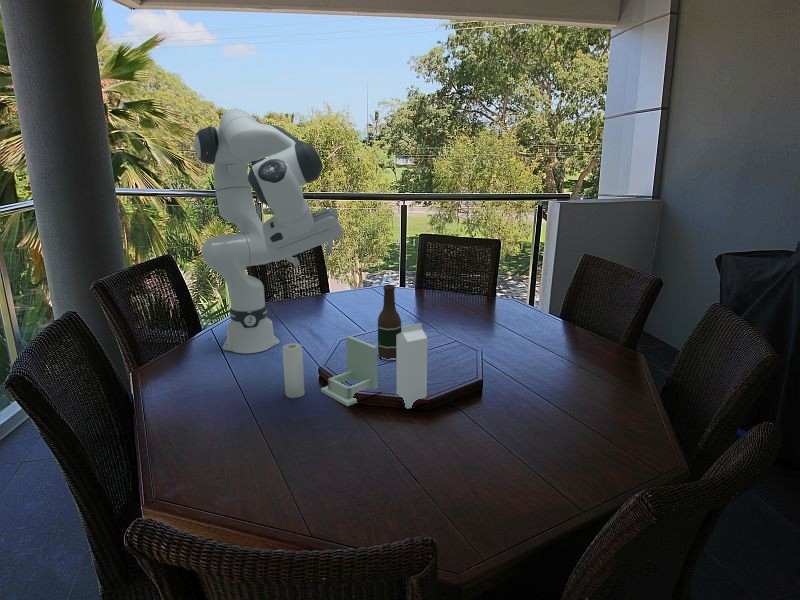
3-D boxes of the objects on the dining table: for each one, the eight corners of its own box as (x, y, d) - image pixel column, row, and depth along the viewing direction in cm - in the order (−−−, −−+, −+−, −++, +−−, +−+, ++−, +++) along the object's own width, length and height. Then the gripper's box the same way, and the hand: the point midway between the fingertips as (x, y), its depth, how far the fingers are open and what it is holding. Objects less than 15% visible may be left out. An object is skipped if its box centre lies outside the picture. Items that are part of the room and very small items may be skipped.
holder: (320, 391, 151) (318, 345, 147) (354, 379, 159) (353, 334, 155) (347, 406, 142) (345, 357, 138) (381, 392, 150) (380, 345, 146)
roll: (284, 391, 151) (281, 343, 147) (303, 388, 153) (300, 341, 149) (286, 399, 146) (283, 350, 142) (305, 396, 148) (303, 348, 144)
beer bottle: (398, 362, 171) (398, 289, 164) (375, 360, 172) (374, 288, 165) (403, 353, 178) (403, 283, 171) (380, 351, 180) (380, 281, 173)
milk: (426, 404, 144) (428, 326, 137) (407, 409, 141) (408, 330, 135) (414, 394, 149) (416, 319, 143) (395, 399, 146) (396, 323, 140)
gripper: (331, 198, 138) (346, 237, 148) (256, 227, 136) (276, 264, 147) (337, 212, 133) (352, 251, 144) (259, 242, 132) (280, 279, 143)
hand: (313, 258), depth 145 cm, fingers open, 8 cm apart
